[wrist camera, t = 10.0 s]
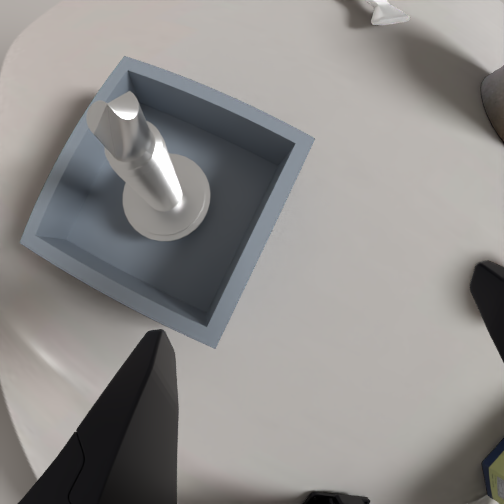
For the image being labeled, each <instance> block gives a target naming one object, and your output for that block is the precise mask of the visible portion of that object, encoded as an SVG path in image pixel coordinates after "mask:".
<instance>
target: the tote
mask: <svg viewBox="0 0 504 504" xmlns="http://www.w3.org/2000/svg"><path fill="white" fill-rule="evenodd" d="M128 91H131V92H132V93H133V94H134V95H135V96H136V98H137V100H138V102H139V105H140V107H141V110H142V112H143V114H144V117H145V119H146V121H148V122H150V123H152V124H153V125H154V126H155V127H156V128H157V129H158V131H159V132H160V134H161V136H162V137H163V139H164V141H165V144H166V147H167V150H168V153H170V154H178V155H181V156H185V157H187V158H189V159H190V160H192V161H194V162H195V163H196V164H197V165H198V166H199V167H200V168H201V169H202V171H203V172H204V174H205V175H206V178H207V180H208V183H209V187H210V205H209V208H208V212H207V214H206V216H205V218H204V220H203V222H202V223H201V224H200V225H199V226H198V227H197V229H196V230H194V231H193V232H192V233H190V234H189V235H187V236H185V237H183V238H181V239H178V240H174V241H157V240H152V239H149V238H147V237H145V236H143V235H141V234H140V233H139V232H138V231H136V230H135V229H134V228H133V226H132V225H131V224H130V223H129V221H128V219H127V217H126V215H125V212H124V207H123V191H124V186H125V184H126V182H125V181H124V180H123V179H122V178H121V177H119V175H118V174H117V173H116V172H115V171H114V170H113V169H112V167H111V166H110V164H109V161H108V160H107V158H106V155H105V150H104V148H105V147H104V145H103V144H102V143H101V142H100V141H99V140H98V139H97V138H96V136H95V135H94V134H93V133H92V132H91V131H90V129H89V127H88V125H87V121H86V116H87V111H88V109H89V107H90V106H91V105H92V104H93V103H94V102H96V101H98V100H102V101H104V102H106V103H109V102H111V101H112V100H114V99H116V98H118V97H119V96H121V95H123V94H125V93H127V92H128ZM314 140H315V138H313V137H312V136H310V135H308V134H306V133H304V132H302V131H300V130H299V129H297V128H295V127H293V126H291V125H289V124H287V123H285V122H283V121H281V120H279V119H277V118H275V117H273V116H271V115H269V114H267V113H265V112H263V111H261V110H259V109H257V108H255V107H253V106H251V105H248V104H246V103H244V102H242V101H240V100H238V99H235V98H233V97H231V96H229V95H226V94H224V93H222V92H219V91H217V90H215V89H212V88H210V87H208V86H205V85H203V84H200V83H198V82H196V81H193V80H191V79H188V78H185V77H183V76H180V75H178V74H175V73H172V72H170V71H167V70H164V69H161V68H159V67H156V66H153V65H150V64H147V63H144V62H141V61H138V60H135V59H132V58H129V57H126V56H124V57H123V59H122V60H121V61H120V62H119V64H118V65H117V66H116V68H115V69H114V70H113V72H112V73H111V74H110V76H109V77H108V79H107V80H106V81H105V83H104V84H103V86H102V87H101V88H100V90H99V91H98V93H97V94H96V96H95V97H94V99H93V100H92V102H91V103H90V105H89V106H88V108H87V109H86V111H85V113H84V114H83V116H82V117H81V119H80V121H79V122H78V124H77V125H76V127H75V129H74V130H73V132H72V134H71V136H70V137H69V139H68V141H67V143H66V144H65V146H64V148H63V150H62V151H61V153H60V155H59V157H58V159H57V161H56V163H55V165H54V166H53V168H52V170H51V172H50V174H49V176H48V178H47V180H46V182H45V184H44V187H43V189H42V191H41V193H40V195H39V197H38V199H37V202H36V204H35V206H34V208H33V211H32V213H31V215H30V218H29V220H28V223H27V225H26V227H25V230H24V233H23V235H22V238H21V240H20V243H21V244H22V245H24V246H25V247H27V248H28V249H30V250H31V251H33V252H34V253H36V254H37V255H39V256H41V257H42V258H44V259H45V260H47V261H49V262H50V263H52V264H53V265H55V266H57V267H58V268H60V269H62V270H63V271H65V272H67V273H68V274H70V275H72V276H73V277H75V278H77V279H78V280H80V281H82V282H84V283H85V284H87V285H89V286H91V287H92V288H94V289H96V290H98V291H100V292H101V293H103V294H105V295H107V296H109V297H110V298H112V299H114V300H116V301H118V302H120V303H122V304H123V305H125V306H127V307H129V308H131V309H133V310H135V311H137V312H139V313H141V314H143V315H145V316H147V317H149V318H151V319H153V320H155V321H157V322H159V323H161V324H163V325H165V326H167V327H169V328H171V329H173V330H175V331H177V332H179V333H181V334H184V335H186V336H188V337H190V338H192V339H194V340H197V341H199V342H201V343H203V344H205V345H208V346H210V347H212V348H214V349H216V346H217V344H218V342H219V340H220V338H221V336H222V334H223V332H224V330H225V328H226V326H227V324H228V322H229V320H230V317H231V315H232V313H233V311H234V309H235V307H236V305H237V303H238V301H239V299H240V297H241V295H242V292H243V290H244V288H245V286H246V284H247V282H248V280H249V278H250V276H251V274H252V272H253V269H254V267H255V265H256V263H257V261H258V259H259V257H260V255H261V253H262V251H263V248H264V246H265V244H266V242H267V240H268V238H269V236H270V234H271V232H272V229H273V227H274V225H275V223H276V221H277V219H278V217H279V215H280V213H281V210H282V208H283V206H284V204H285V202H286V200H287V198H288V196H289V193H290V191H291V189H292V187H293V185H294V183H295V181H296V179H297V176H298V174H299V172H300V170H301V168H302V166H303V164H304V161H305V159H306V157H307V155H308V153H309V151H310V149H311V146H312V144H313V142H314Z"/></svg>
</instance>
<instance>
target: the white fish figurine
mask: <svg viewBox="0 0 504 504" xmlns="http://www.w3.org/2000/svg"><path fill="white" fill-rule="evenodd" d="M365 1H367V2H368V3H369V4H370V5H371V6H373V7H374V12H373V16H372V19H371V23H372V24H373V25H389V24H395V23H401V22H406V21H408V20H409V19H410V17H409V16H408V15H407V14H406V13H404V12H402V11H401V10H399V9H398V8H396V7H395V6H393V5H391V4H390V3H389V2H388V1H387V0H365Z"/></svg>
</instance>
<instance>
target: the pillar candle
mask: <svg viewBox="0 0 504 504" xmlns="http://www.w3.org/2000/svg"><path fill="white" fill-rule="evenodd" d="M481 95H482V100H483V104H484V107H485V110H486V112H487V115H488V117H489V119H490V121H491V123H492V125H493V127H494V129H495V130H496V132H497V133H498V135H499V136H500V137H501V139H502V140H503V141H504V66H502V67H501V68H499V69H498V70H496V71H494V72H493V73H491V74H490V75H488V76H487V77H485V79H484V80H483V82H482V85H481Z"/></svg>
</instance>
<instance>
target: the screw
mask: <svg viewBox="0 0 504 504" xmlns="http://www.w3.org/2000/svg"><path fill="white" fill-rule="evenodd" d="M86 121H87V125H88V127H89V129H90V131H91V132H92V133H93V134H94V135H95V136H96V138H97V139H98V140H99V141H100V142H101V143H102V144H103V145H104V147H105V148H104V150H105V155H106V158H107V160H108V161H109V164H110V166H111V167H112V169H113V170H114V171H115V172H116V173H117V174H118V175H119V177H121V178H122V179H123V180H124V181H125V182H126V184H125V186H124V191H123V207H124V212H125V215H126V217H127V219H128V221H129V223H130V224H131V225H132V226H133V228H134V229H135V230H136V231H138V232H139V233H140V234H141V235H143V236H145V237H147V238H149V239H152V240H157V241H174V240H178V239H181V238H183V237H185V236H187V235H189V234H190V233H192V232H193V231H194V230H196V229H197V227H198V226H199V225H200V224H201V223H202V222H203V220H204V218H205V216H206V214H207V212H208V208H209V205H210V187H209V183H208V180H207V178H206V175H205V174H204V172H203V171H202V169H201V168H200V167H199V166H198V165H197V164H196V163H195V162H194V161H192V160H190V159H189V158H187V157H185V156H181V155H178V154H170V153H168V150H167V147H166V144H165V141H164V139H163V137H162V136H161V134H160V132H159V131H158V129H157V128H156V127H155V126H154V125H153V124H152V123H150V122H148V121H146V119H145V117H144V114H143V112H142V110H141V107H140V105H139V102H138V100H137V98H136V96H135V95H134V94H133V93H132V92H131V91H128V92H127V93H125V94H123V95H121V96H119V97H118V98H116V99H114V100H112V101H111V102H109V103H106V102H104V101H102V100H98V101H96V102H94V103H93V104H92V105H91V106H90V107H89V109H88V111H87V116H86Z"/></svg>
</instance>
